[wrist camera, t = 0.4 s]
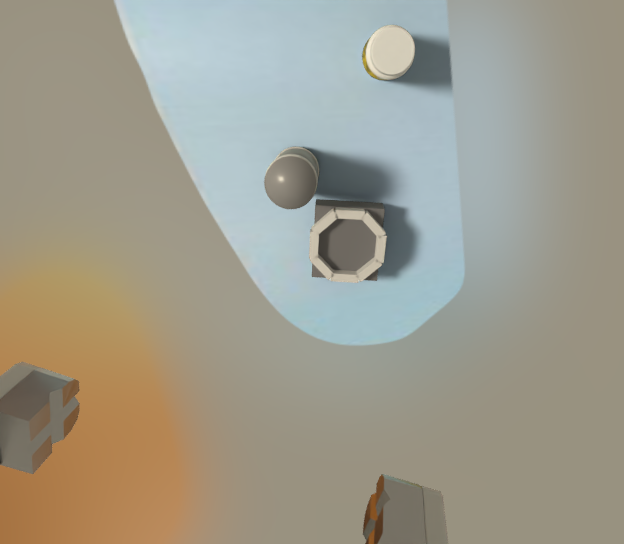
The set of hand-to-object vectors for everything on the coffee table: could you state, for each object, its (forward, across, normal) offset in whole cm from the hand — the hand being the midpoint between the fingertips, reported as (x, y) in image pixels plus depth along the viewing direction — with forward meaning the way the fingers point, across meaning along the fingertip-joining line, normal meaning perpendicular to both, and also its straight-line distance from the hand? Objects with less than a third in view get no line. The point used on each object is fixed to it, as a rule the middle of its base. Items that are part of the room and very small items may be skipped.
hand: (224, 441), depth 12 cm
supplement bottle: (+47, 0, -9) cm, 48 cm away
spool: (+44, +6, +4) cm, 45 cm away
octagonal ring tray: (+45, -2, +11) cm, 46 cm away
